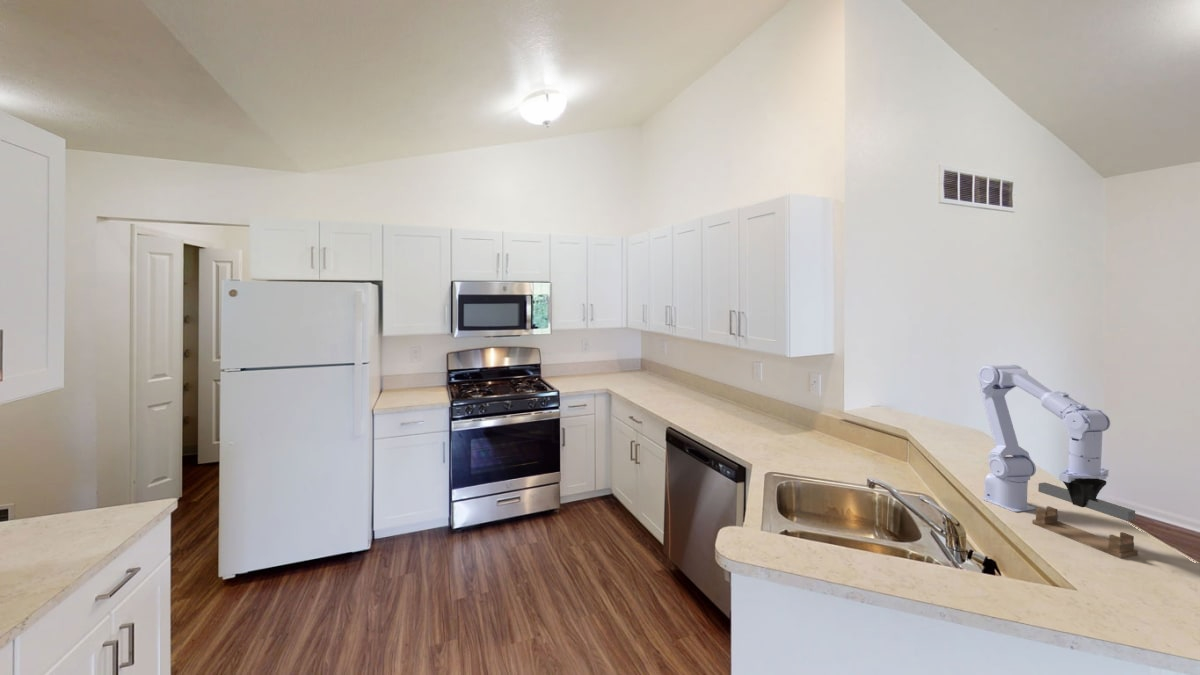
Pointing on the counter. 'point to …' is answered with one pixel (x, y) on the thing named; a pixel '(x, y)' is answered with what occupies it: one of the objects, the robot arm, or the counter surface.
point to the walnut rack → (1086, 535)
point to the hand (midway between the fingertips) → (1082, 505)
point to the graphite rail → (1089, 502)
